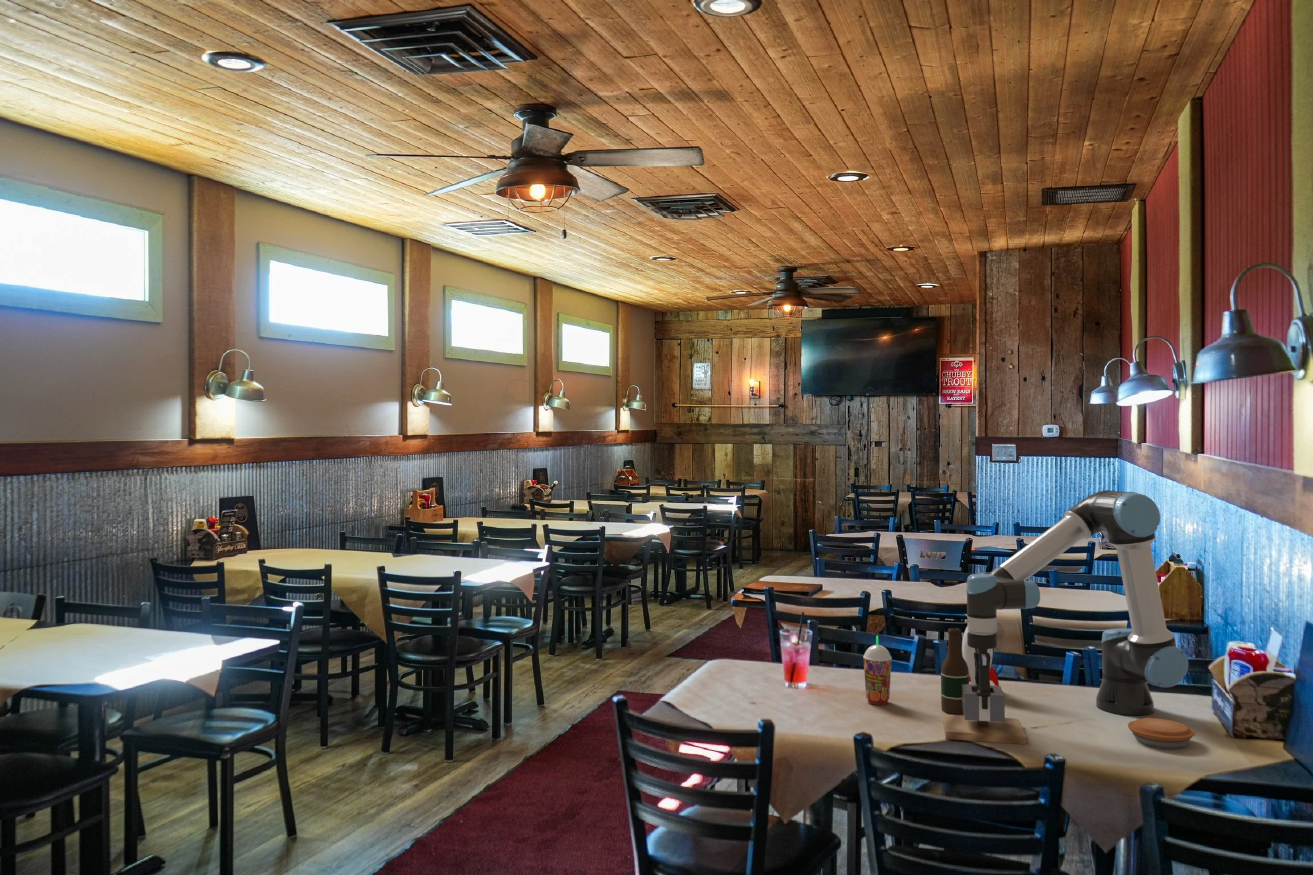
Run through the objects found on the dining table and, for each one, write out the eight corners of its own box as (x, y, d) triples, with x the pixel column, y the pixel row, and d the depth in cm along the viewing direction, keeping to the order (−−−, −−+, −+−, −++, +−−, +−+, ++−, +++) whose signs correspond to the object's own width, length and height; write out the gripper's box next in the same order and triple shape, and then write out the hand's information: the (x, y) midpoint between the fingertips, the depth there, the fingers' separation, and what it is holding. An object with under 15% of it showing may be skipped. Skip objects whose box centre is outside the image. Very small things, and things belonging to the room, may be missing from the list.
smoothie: (861, 704, 287) (860, 637, 287) (866, 697, 295) (865, 632, 295) (889, 707, 284) (889, 639, 284) (893, 700, 292) (893, 634, 292)
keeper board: (1018, 725, 265) (1018, 718, 265) (1026, 743, 249) (1026, 736, 249) (942, 721, 269) (942, 714, 269) (945, 738, 254) (945, 731, 254)
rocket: (1000, 691, 300) (999, 611, 300) (992, 699, 291) (991, 616, 291) (964, 686, 306) (963, 608, 306) (955, 694, 297) (954, 613, 297)
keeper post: (988, 723, 260) (987, 692, 260) (989, 726, 257) (988, 695, 257) (976, 722, 261) (976, 691, 261) (977, 726, 258) (977, 694, 258)
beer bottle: (970, 715, 275) (970, 631, 275) (942, 714, 276) (941, 630, 276) (967, 708, 282) (966, 626, 282) (940, 706, 284) (939, 625, 284)
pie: (1166, 755, 239) (1166, 735, 239) (1114, 737, 254) (1114, 718, 254) (1209, 747, 246) (1208, 727, 246) (1155, 730, 260) (1155, 711, 260)
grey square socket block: (1000, 711, 263) (1000, 685, 263) (1004, 722, 253) (1004, 695, 253) (962, 709, 265) (962, 684, 265) (964, 719, 256) (964, 693, 256)
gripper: (964, 623, 271) (965, 702, 271) (970, 640, 249) (971, 726, 249) (992, 624, 269) (993, 704, 269) (1001, 641, 247) (1002, 727, 247)
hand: (982, 714), depth 259 cm, fingers closed on grey square socket block, 10 cm apart
